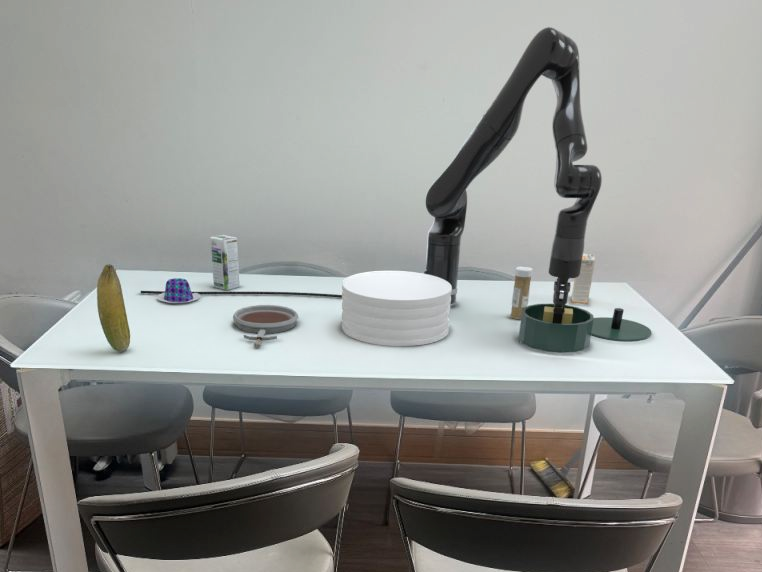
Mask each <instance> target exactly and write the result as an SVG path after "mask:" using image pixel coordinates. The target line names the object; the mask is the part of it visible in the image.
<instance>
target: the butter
mask: <svg viewBox="0 0 762 572" xmlns="http://www.w3.org/2000/svg"><path fill="white" fill-rule="evenodd" d="M556 308H557V307H556ZM553 309H554V307H546V306H545V308H544V315H543V321H545V322H550V323H552V321H553V315H554V313H553V312H554V311H553ZM564 310H565V312H564V313H563V316H562V323H561V324H571V323H572V316H573V309H569V308H565V309H564Z"/></svg>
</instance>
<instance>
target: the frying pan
mask: <svg viewBox="0 0 762 572" xmlns="http://www.w3.org/2000/svg"><path fill="white" fill-rule="evenodd" d="M232 319H233V321H234V322H235V325H236V327H237V328H238V329H240V330H242V331H243V332H249V333H254V334H256V336H255V335H253V336H251V335H247V334H243V339H245V340H249V341H254V342H253V346H254V348H255V349H259V348H261V346H262V343H261V342H262V341H274V340H278V335H271V336H265V334H275V333H282V332H287V331H289V330H291V329H294V328H295V326H296V325H297V321H298V319H299V314H298V313H297V311H295V309H293V308H290V307H287V306H282V305H275V304H258V305H249V306H245V307H242V308H239V309H237V310H236V311H235V312H234V313H233V315H232Z"/></svg>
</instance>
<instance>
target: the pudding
mask: <svg viewBox="0 0 762 572" xmlns="http://www.w3.org/2000/svg"><path fill="white" fill-rule="evenodd" d="M164 291H165V292H164V293H161V294H157V296H156V299H157V300H159V301H160V302H164V303H169V304H187V303H189V302H193V301H196V300H199V299H200V298H201V294H198V293H192V292H193V291H192V289H191V287H190V284H189V281H188V279H186V278H180V277H179V278H176V277H175V278H169V279H168V280H167V281H166V282H165V288H164Z"/></svg>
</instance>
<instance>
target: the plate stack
mask: <svg viewBox="0 0 762 572" xmlns="http://www.w3.org/2000/svg"><path fill="white" fill-rule="evenodd" d="M451 292H452V286H451V284H450V283H449V282H447V281H446V280H444V279H441V278H439V277H436V276H432V275H428V274H424V272H417V271H406V270H373V271H365V272H358V273H355V274H352V275H349V276H347V277H345V278H344V279H343V280H342V282H341V295H342V298H341V300H342V302H341V310H342V311H341V330H342V332H343V333H344V334H345V335H347V336H348V337H350V338H352V339H354V340H357V341H361V342H364V343H367V344H372V345H379V346H388V347H389V346H390V347H414V346H422V345H427V344H432V343H436V342H438V341H441V340H442V339H444V338H446V337H447V335H448V334H449V329H450V326H449V324H450V314H451V307H450V303H451Z"/></svg>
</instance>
